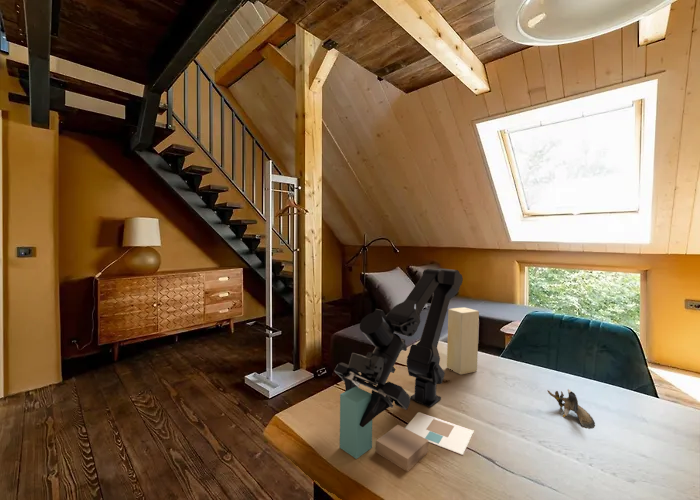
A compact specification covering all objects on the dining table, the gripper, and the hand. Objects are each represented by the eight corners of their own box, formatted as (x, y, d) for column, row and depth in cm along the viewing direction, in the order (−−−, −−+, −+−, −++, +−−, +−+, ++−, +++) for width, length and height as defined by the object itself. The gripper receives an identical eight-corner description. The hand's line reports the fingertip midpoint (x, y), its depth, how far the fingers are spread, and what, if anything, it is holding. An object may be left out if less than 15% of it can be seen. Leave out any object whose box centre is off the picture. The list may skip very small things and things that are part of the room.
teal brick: (355, 437, 73) (355, 386, 73) (371, 447, 70) (372, 394, 69) (339, 447, 70) (340, 394, 69) (356, 459, 66) (357, 402, 66)
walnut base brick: (397, 437, 74) (397, 424, 74) (428, 453, 69) (428, 440, 69) (375, 453, 68) (376, 440, 68) (407, 473, 63) (407, 458, 63)
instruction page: (418, 412, 84) (418, 411, 84) (474, 431, 76) (474, 430, 76) (402, 431, 76) (402, 431, 76) (462, 455, 68) (462, 454, 68)
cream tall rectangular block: (461, 363, 116) (463, 306, 115) (477, 371, 110) (479, 310, 109) (444, 366, 113) (446, 308, 112) (460, 375, 106) (462, 313, 105)
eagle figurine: (541, 405, 86) (572, 418, 77) (551, 379, 88) (583, 389, 78) (564, 419, 87) (598, 434, 77) (574, 393, 88) (608, 405, 79)
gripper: (340, 329, 78) (303, 389, 71) (403, 349, 65) (367, 424, 58) (361, 352, 84) (329, 409, 77) (423, 375, 71) (392, 446, 64)
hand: (351, 420), depth 69 cm, fingers closed on teal brick, 5 cm apart
